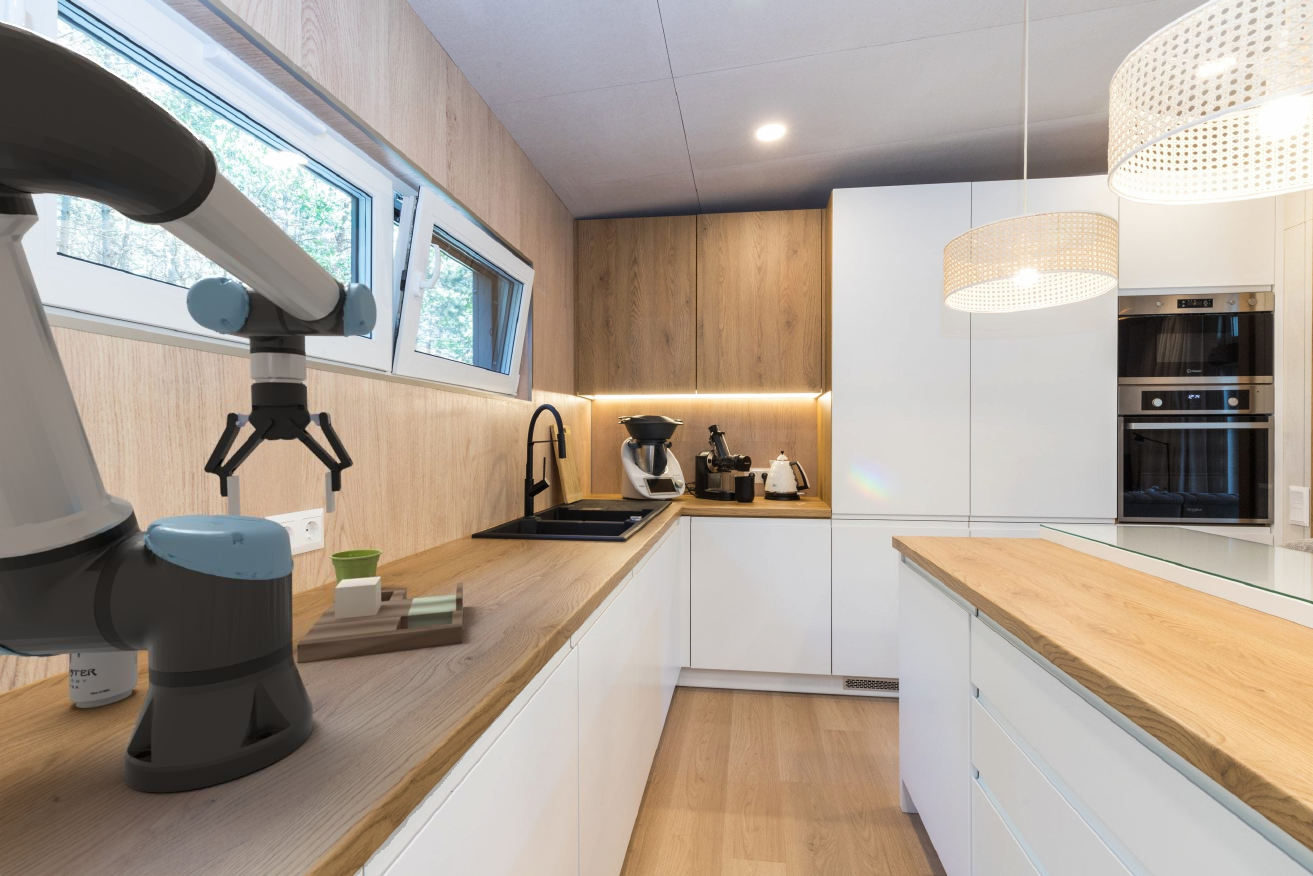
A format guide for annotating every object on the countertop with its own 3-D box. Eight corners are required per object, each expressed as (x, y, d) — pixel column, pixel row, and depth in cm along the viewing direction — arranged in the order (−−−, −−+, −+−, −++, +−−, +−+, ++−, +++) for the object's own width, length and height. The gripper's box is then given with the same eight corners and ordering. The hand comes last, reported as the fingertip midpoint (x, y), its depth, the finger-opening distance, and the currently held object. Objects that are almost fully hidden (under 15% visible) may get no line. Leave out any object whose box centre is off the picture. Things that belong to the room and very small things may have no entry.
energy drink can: (59, 705, 68) (57, 580, 68) (122, 684, 74) (121, 569, 74) (84, 714, 66) (82, 584, 66) (148, 692, 71) (146, 572, 71)
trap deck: (462, 642, 87) (461, 613, 87) (297, 662, 80) (297, 630, 80) (463, 594, 115) (463, 572, 115) (340, 606, 108) (340, 582, 108)
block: (376, 614, 94) (375, 584, 94) (335, 619, 92) (334, 588, 92) (381, 605, 100) (380, 576, 100) (342, 608, 98) (342, 579, 98)
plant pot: (374, 587, 122) (373, 547, 122) (388, 595, 115) (388, 553, 115) (325, 596, 116) (324, 553, 116) (337, 605, 109) (336, 560, 109)
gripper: (368, 384, 99) (372, 506, 100) (196, 383, 91) (201, 516, 91) (361, 381, 92) (365, 512, 93) (174, 379, 84) (179, 523, 84)
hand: (283, 514), depth 92 cm, fingers open, 13 cm apart
